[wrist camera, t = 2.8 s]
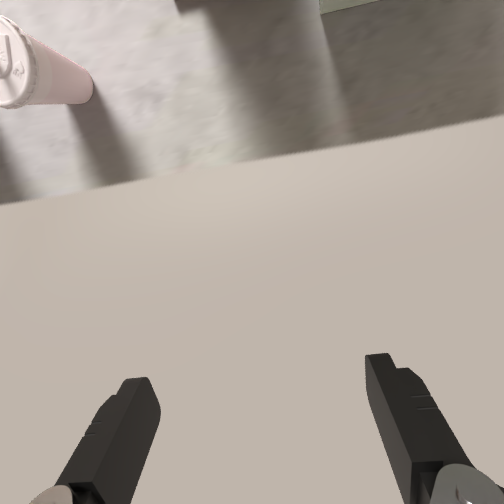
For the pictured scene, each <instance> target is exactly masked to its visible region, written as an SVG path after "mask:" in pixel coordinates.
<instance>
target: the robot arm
mask: <svg viewBox="0 0 504 504" xmlns="http://www.w3.org/2000/svg"><path fill="white" fill-rule="evenodd" d="M365 369H366V370H365V372H366V390H367V396H368V400H369V404H370V407H371V410H372V413H373V415H374V418H375V421H376V424H377V427H378V429H379V433H380V436H381V438H382V441H383V444H384V447H385V450H386V452H387V456H388V458H389V461H390V464H391V467H392V470H393V473H394V475H395V478H396V481H397V484H398V487H399V490H400V493H401V495H402V498H403V501H404V504H504V488H503V487H500V486H499V485H497V484H495V483H494V482H493V481H492V480H491V479H490V478H489V477H488V476H486V475H485V474H483V473H482V472H480V471H479V470H477V469H476V468H475V467H474V466H473V465H472V463H471V462H470V460H469V459H468V457H467V456H466V454H465V453H464V451H463V449H462V447H461V446H460V444H459V442H458V440H457V439H456V437H455V435H454V433H453V432H452V430H451V428H450V427H449V425H448V423H447V422H446V420H445V418H444V416H443V415H442V413H441V411H440V410H439V409H438V406H437V404H436V403H435V401H434V399H433V398H432V397H431V395H430V392H429V391H428V389H427V387H426V385H425V384H424V382H423V380H422V379H421V378H420V377H419V376H417V375H416V374H415V373H414V372H413V371H412V370H410V369H409V368H396V367H395V364H394V362H393V360H392V358H391V356H390V355H389V354H388V353H382V354H371V355H366V356H365ZM160 415H161V409H160V405H159V402H158V399H157V397H156V395H155V392H154V390H153V388H152V385H151V383H150V381H149V379H148V378H147V377H141V378H131V379H126V380H125V381H124V382H123V383H122V385H121V387H120V389H119V391H118V392H117V394H116V395H112V396H111V397H110V398H109V399H108V400H107V401H106V402H105V403H104V404H103V405H102V406H101V407H100V408H99V410H98V411H97V413H96V415H95V417H94V418H93V420H92V424H91V425H89V427H88V429H87V431H86V432H85V436H84V437H82V439H81V441H80V442H79V444H78V446H77V448H76V449H75V451H74V453H73V455H72V456H71V458H70V460H69V461H68V463H67V465H66V467H65V468H64V470H63V472H62V473H61V475H60V477H59V479H58V480H57V482H56V484H55V485H54V486H53V487H51V488H49V489H47V490H45V491H44V492H42V493H41V494H39V495H38V496H37V497H36V498H35V499H34V500H33V501H32V502H31V503H30V504H130V503H131V500H132V498H133V495H134V492H135V489H136V486H137V484H138V480H139V478H140V475H141V472H142V470H143V467H144V464H145V461H146V458H147V456H148V453H149V450H150V447H151V445H152V442H153V439H154V436H155V433H156V430H157V428H158V425H159V422H160Z"/></svg>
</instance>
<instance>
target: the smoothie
mask: <svg viewBox="0 0 504 504" xmlns="http://www.w3.org/2000/svg"><path fill="white" fill-rule="evenodd" d="M92 93H93V82H92V78H91V76H90V74H89V73H88V72H87V70H86V69H85V68H83V67H82V66H80V65H78V64H77V63H75V62H73V61H72V60H70V59H68V58H67V57H65V56H63V55H62V54H60V53H58V52H56V51H55V50H53V49H51V48H50V47H48V46H46V45H45V44H43V43H41V42H40V41H38V40H36V39H34V38H33V37H31V36H30V35H28V34H26V33H25V32H24V31H23V30H22V29H21V28H20V27H19V26H18V25H17V24H16V23H15V22H13V21H11V20H10V19H8V18H6V17H5V16H2V15H0V107H2V108H6V109H17V108H20V107H22V106H25V105H35V104H83V103H86V102H87V101H88V100H89V99H90V98H91V96H92Z"/></svg>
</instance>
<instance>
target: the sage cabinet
mask: <svg viewBox="0 0 504 504" xmlns="http://www.w3.org/2000/svg"><path fill="white" fill-rule="evenodd" d="M374 1H379V0H319V4H320V14H324V13H328V12H333V11H337V10H341V9H345V8H349V7H354V6H358V5H362V4H366V3H370V2H374Z"/></svg>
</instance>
